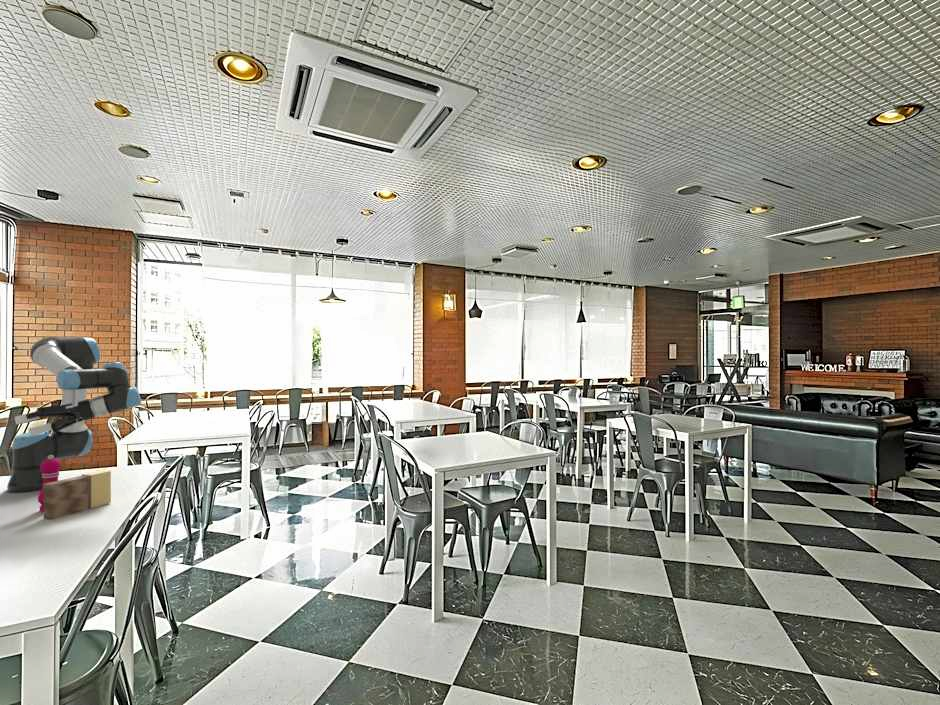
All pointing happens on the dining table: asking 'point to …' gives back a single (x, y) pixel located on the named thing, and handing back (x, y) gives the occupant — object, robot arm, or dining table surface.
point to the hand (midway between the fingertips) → (22, 426)
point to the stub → (99, 488)
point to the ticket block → (65, 497)
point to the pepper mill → (48, 475)
